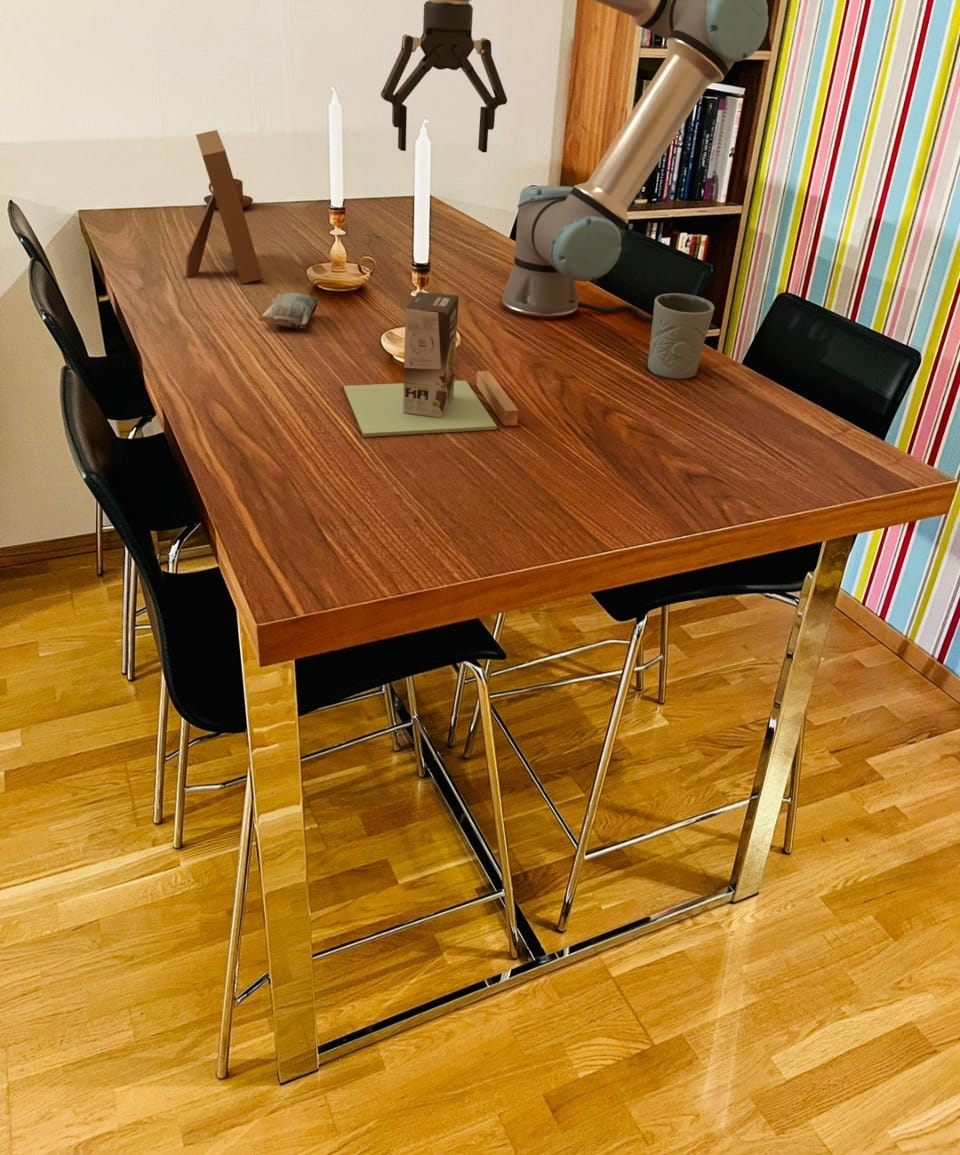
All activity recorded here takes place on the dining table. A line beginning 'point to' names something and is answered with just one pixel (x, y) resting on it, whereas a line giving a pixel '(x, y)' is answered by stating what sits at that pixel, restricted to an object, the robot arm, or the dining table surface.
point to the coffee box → (430, 353)
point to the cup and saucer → (243, 199)
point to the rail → (497, 398)
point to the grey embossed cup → (678, 334)
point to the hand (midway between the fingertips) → (442, 150)
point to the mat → (385, 415)
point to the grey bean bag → (290, 310)
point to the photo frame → (223, 213)
